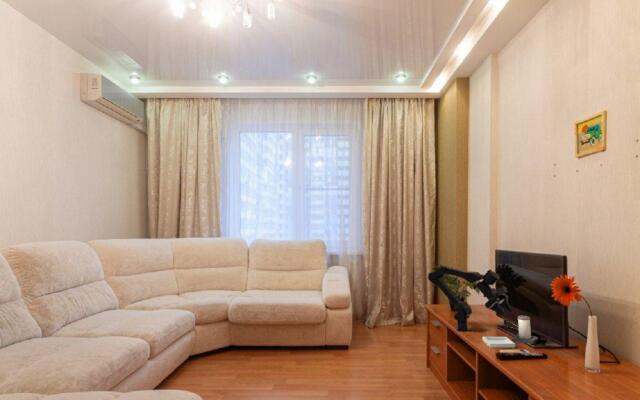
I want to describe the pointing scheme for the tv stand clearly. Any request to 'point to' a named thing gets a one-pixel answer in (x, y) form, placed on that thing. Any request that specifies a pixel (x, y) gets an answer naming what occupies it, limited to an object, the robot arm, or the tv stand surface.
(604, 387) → the tv stand surface
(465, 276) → the robot arm
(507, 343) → the tray
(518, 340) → the collar
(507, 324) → the door stopper
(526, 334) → the stop cylinder
